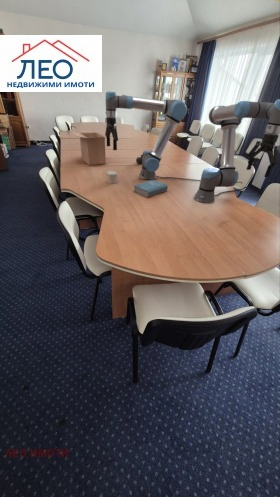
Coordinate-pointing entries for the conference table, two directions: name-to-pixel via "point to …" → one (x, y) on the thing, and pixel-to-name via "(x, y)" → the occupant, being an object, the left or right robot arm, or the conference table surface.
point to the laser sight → (139, 159)
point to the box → (92, 146)
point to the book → (150, 188)
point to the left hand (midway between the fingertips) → (111, 148)
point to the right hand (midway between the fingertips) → (256, 173)
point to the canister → (112, 177)
